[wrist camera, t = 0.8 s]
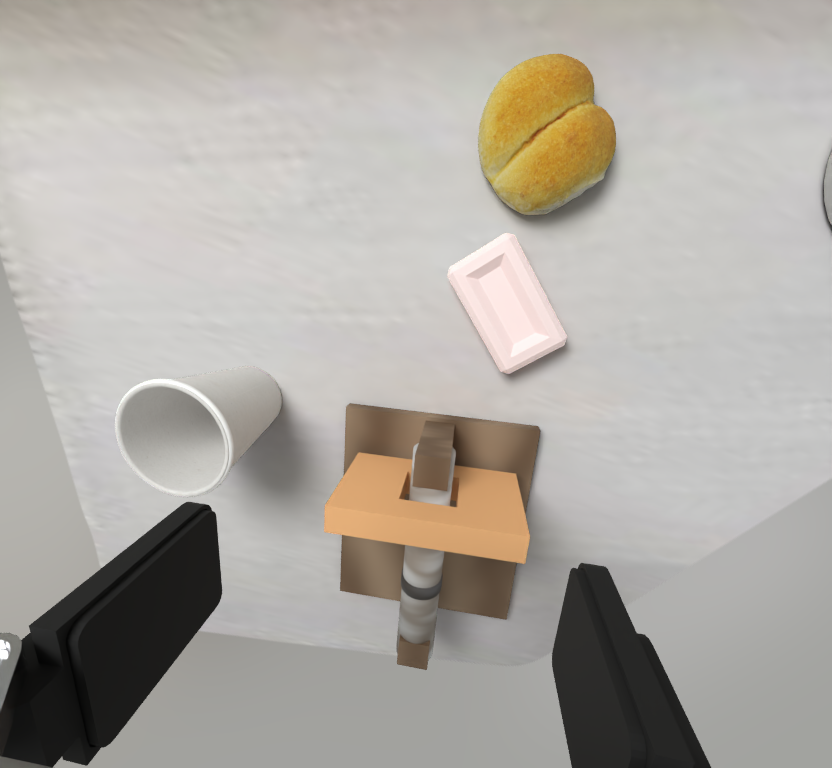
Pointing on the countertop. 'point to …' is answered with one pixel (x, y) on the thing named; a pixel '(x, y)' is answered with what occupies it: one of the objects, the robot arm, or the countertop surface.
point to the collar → (430, 510)
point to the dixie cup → (194, 426)
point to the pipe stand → (432, 483)
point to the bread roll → (544, 135)
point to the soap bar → (507, 304)
